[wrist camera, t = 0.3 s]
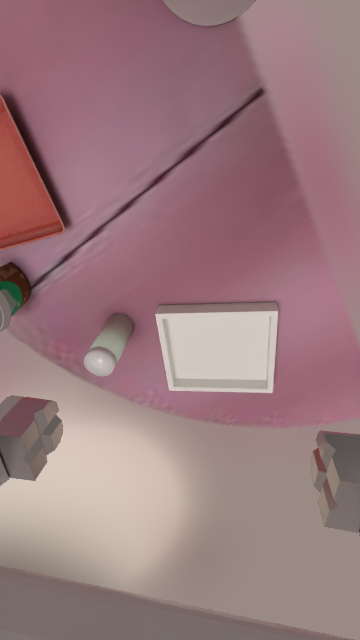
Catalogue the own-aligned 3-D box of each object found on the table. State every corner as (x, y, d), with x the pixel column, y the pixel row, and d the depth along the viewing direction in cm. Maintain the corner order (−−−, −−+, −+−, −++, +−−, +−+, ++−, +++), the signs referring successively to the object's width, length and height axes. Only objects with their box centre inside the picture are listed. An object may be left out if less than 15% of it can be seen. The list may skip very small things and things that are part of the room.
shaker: (105, 313, 56) (79, 352, 46) (131, 313, 55) (109, 352, 45) (111, 335, 59) (88, 376, 49) (136, 335, 58) (117, 376, 48)
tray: (158, 305, 53) (155, 313, 51) (275, 301, 50) (278, 310, 47) (171, 380, 63) (169, 390, 60) (270, 381, 59) (272, 392, 57)
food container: (27, 320, 60) (-6, 352, 51) (-2, 304, 59) (-41, 334, 50) (45, 274, 53) (11, 301, 45) (13, 255, 52) (-29, 279, 44)
